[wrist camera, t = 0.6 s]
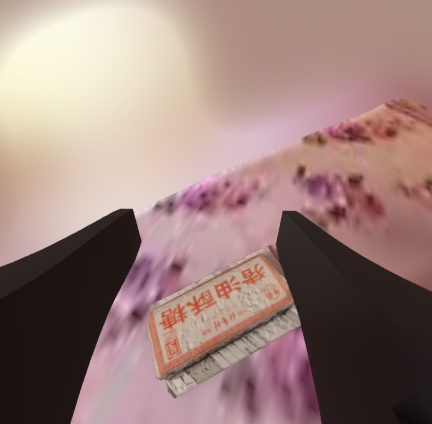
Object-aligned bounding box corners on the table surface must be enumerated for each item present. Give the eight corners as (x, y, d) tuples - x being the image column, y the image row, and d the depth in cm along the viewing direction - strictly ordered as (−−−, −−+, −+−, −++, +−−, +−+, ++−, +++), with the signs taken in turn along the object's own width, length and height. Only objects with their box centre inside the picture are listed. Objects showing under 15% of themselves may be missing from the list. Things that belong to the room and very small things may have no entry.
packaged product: (156, 412, 17) (134, 301, 23) (173, 399, 21) (152, 307, 27) (327, 312, 19) (269, 233, 25) (314, 317, 23) (267, 248, 29)
